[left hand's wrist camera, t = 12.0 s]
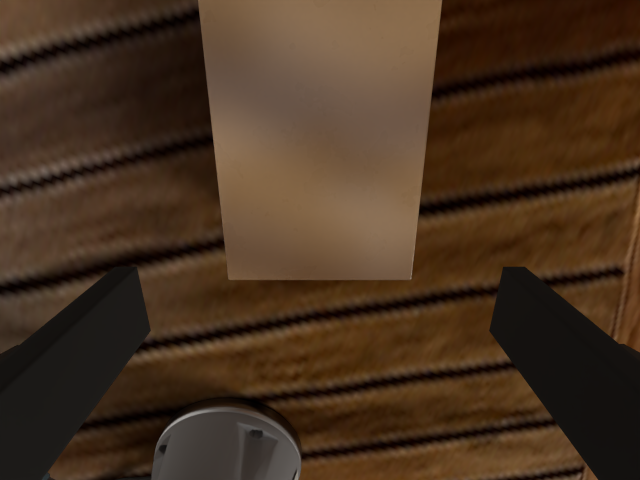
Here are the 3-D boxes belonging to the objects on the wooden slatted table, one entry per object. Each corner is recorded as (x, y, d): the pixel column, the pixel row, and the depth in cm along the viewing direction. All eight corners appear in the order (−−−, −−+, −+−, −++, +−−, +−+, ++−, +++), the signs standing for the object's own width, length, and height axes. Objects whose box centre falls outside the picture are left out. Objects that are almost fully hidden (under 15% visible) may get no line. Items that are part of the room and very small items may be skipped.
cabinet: (230, -80, 21) (176, -188, 13) (409, -80, 21) (463, -188, 13) (254, 229, 29) (228, 280, 21) (385, 229, 29) (411, 280, 21)
